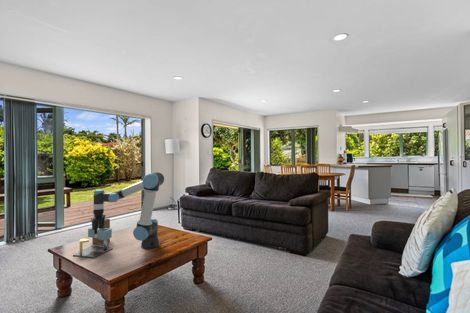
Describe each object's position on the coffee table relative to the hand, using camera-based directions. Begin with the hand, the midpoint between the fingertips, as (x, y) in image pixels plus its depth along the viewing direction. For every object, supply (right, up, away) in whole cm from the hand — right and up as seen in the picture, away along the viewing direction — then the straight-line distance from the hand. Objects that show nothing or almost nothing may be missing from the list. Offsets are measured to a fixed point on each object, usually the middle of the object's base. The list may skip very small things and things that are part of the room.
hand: (98, 236), depth 203 cm
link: (+1, 0, 0) cm, 1 cm away
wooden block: (-7, -11, +18) cm, 22 cm away
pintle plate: (-1, -10, -6) cm, 12 cm away
